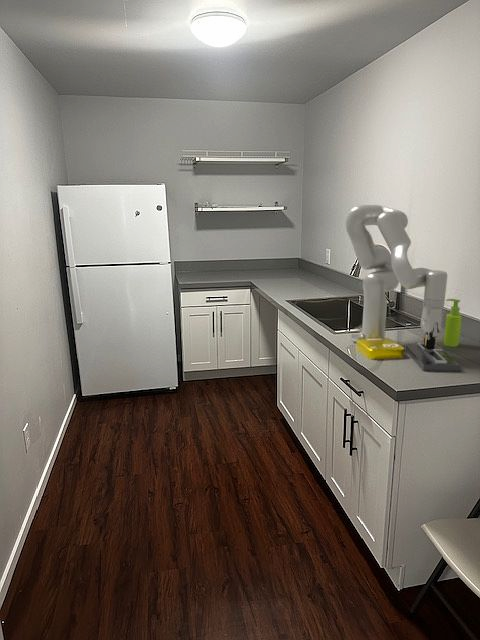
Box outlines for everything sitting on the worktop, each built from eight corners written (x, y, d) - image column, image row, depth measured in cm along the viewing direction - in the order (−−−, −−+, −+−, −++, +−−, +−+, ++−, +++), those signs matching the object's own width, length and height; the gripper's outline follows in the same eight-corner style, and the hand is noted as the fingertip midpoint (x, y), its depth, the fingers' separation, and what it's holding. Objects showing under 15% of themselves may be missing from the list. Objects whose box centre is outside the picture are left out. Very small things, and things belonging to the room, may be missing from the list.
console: (423, 370, 167) (424, 361, 166) (404, 350, 190) (405, 342, 189) (459, 371, 166) (460, 362, 165) (436, 350, 189) (437, 342, 188)
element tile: (387, 347, 195) (388, 336, 194) (405, 358, 181) (406, 347, 180) (354, 349, 193) (355, 338, 192) (369, 360, 179) (370, 349, 178)
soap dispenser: (443, 341, 201) (448, 297, 196) (459, 344, 197) (465, 299, 192) (439, 344, 197) (444, 299, 192) (456, 347, 193) (461, 301, 188)
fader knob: (426, 352, 178) (428, 336, 177) (423, 349, 182) (425, 333, 180) (433, 352, 178) (435, 336, 177) (430, 349, 182) (432, 333, 180)
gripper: (417, 298, 183) (413, 341, 188) (430, 307, 168) (425, 354, 172) (436, 298, 182) (432, 342, 187) (451, 307, 167) (445, 354, 172)
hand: (428, 347), depth 180 cm, fingers closed on fader knob, 2 cm apart
